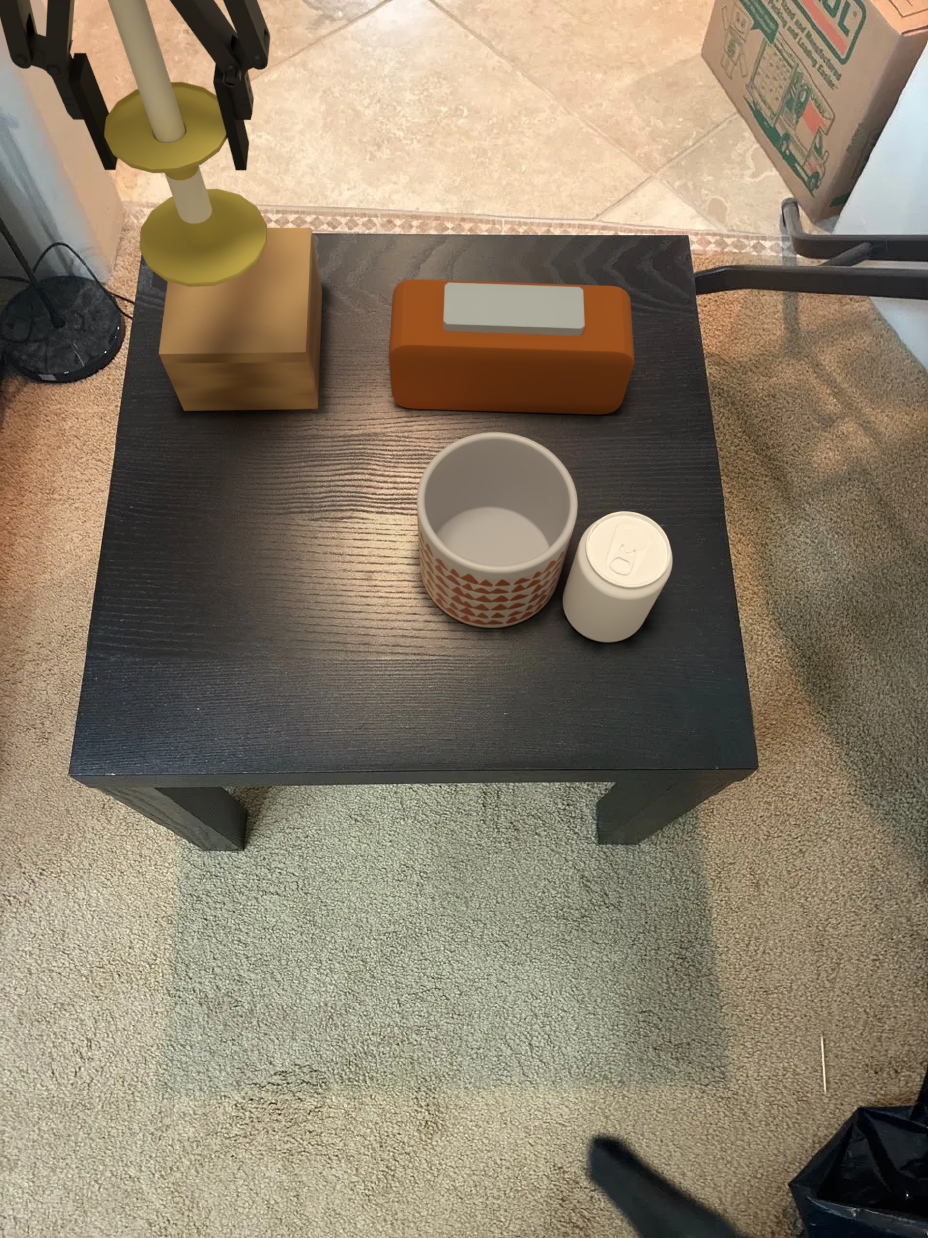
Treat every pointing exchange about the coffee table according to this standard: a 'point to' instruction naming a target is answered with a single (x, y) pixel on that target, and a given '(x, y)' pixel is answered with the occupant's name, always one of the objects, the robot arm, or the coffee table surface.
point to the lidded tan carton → (249, 333)
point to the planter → (494, 528)
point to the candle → (179, 166)
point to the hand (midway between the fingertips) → (177, 155)
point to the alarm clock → (510, 346)
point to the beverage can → (616, 576)
